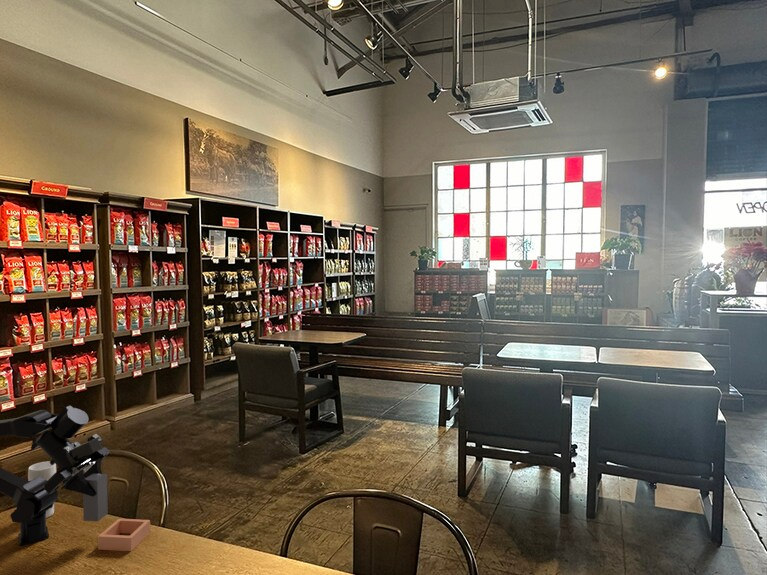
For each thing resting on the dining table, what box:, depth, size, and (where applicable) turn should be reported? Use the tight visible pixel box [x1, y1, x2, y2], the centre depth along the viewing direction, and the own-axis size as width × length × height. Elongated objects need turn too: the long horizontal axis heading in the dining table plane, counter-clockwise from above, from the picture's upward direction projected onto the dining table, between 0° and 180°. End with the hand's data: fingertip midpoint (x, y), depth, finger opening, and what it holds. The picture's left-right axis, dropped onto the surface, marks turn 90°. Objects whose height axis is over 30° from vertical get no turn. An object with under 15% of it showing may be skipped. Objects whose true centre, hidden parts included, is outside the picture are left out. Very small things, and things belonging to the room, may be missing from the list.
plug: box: [82, 473, 109, 522], centre depth 131 cm, size 4×4×11 cm
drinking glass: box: [27, 460, 57, 519], centre depth 143 cm, size 7×7×15 cm
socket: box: [97, 518, 151, 552], centre depth 131 cm, size 9×9×4 cm
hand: (100, 491), depth 130 cm, fingers closed on plug, 4 cm apart
